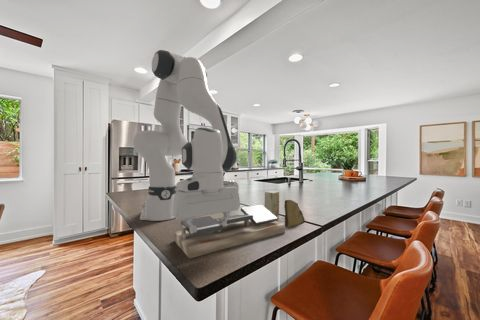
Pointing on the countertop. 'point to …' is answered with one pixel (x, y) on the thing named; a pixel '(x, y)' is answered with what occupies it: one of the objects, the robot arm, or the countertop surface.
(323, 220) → the countertop surface
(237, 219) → the panel
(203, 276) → the countertop surface
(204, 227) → the panel
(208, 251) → the switch panel
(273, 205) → the skincare box
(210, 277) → the countertop surface
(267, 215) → the rocker
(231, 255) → the countertop surface
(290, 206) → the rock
